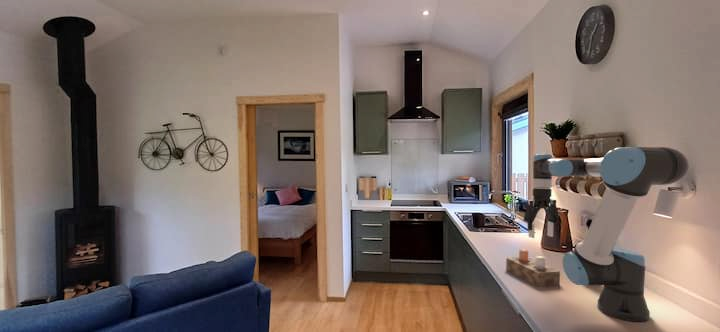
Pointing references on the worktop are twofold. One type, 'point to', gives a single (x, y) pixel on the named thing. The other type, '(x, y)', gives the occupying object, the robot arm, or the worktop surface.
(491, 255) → the worktop surface
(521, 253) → the terracotta plug
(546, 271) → the walnut plug block
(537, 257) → the white oval piece
